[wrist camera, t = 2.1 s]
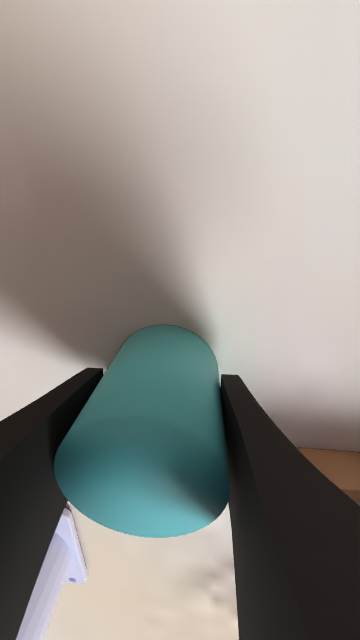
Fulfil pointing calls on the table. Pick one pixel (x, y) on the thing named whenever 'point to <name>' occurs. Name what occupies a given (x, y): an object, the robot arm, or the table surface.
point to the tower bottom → (338, 468)
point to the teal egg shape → (150, 439)
